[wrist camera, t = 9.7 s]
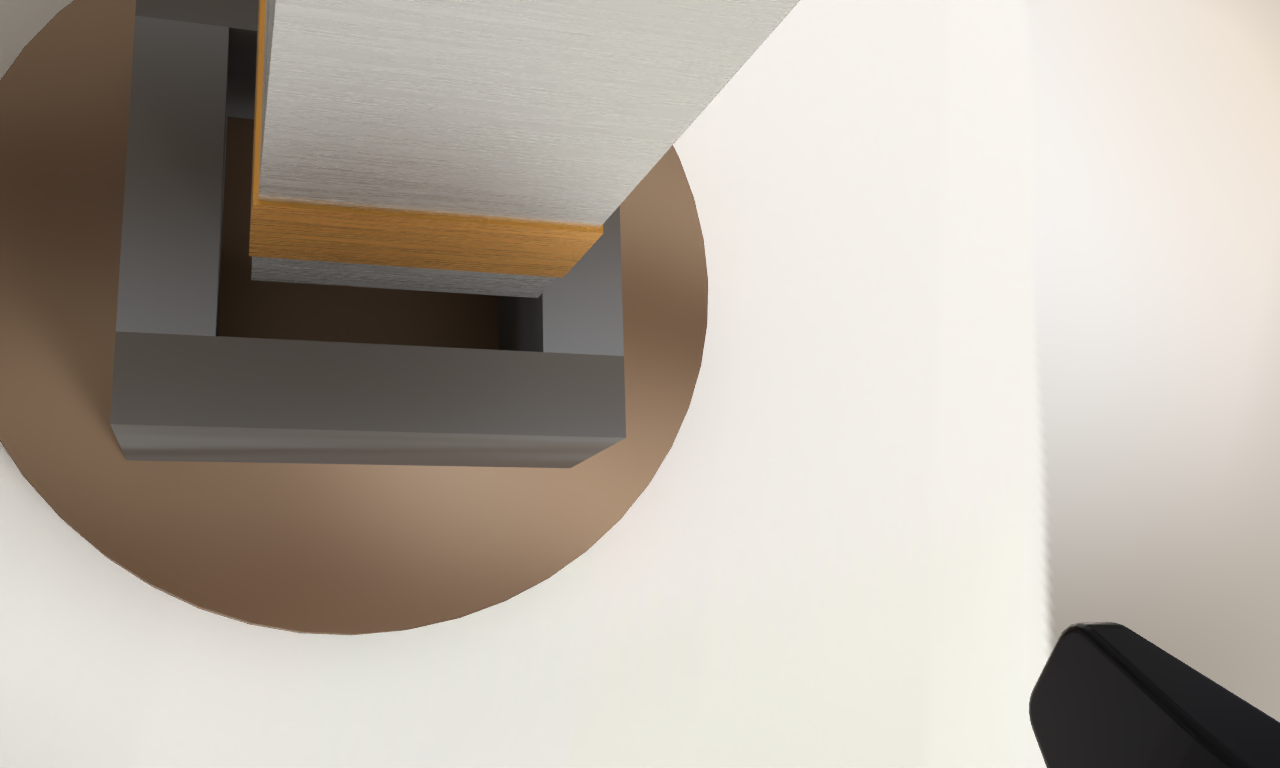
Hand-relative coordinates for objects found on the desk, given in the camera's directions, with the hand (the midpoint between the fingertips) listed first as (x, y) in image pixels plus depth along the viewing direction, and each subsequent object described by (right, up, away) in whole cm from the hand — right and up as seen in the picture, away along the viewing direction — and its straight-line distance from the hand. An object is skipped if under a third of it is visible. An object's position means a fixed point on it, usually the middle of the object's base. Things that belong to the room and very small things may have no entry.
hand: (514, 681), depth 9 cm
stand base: (-4, +4, +12) cm, 13 cm away
